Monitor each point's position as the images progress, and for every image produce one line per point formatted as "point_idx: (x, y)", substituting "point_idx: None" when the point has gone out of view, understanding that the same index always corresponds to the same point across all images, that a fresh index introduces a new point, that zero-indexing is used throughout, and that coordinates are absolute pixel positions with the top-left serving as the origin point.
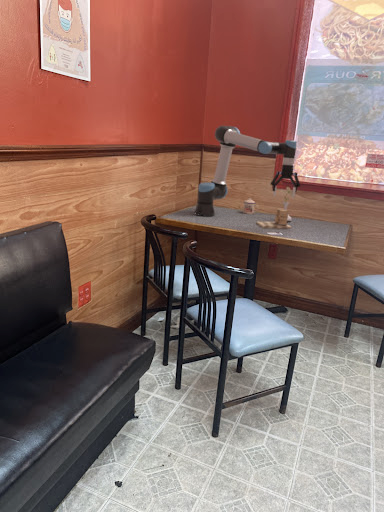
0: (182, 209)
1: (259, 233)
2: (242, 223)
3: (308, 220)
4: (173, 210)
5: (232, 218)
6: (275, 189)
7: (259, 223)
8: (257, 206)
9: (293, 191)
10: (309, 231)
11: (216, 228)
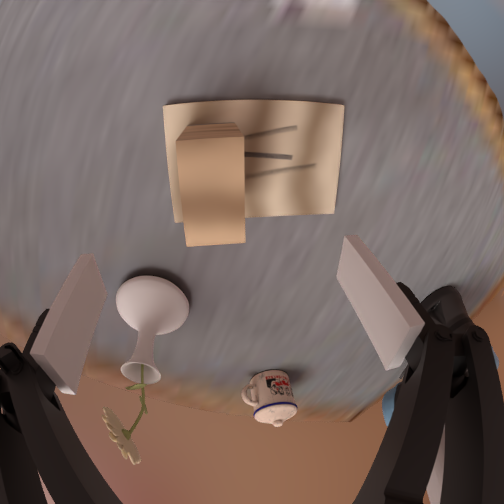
0: None
1: (392, 6)
2: (393, 199)
3: None
4: None
5: None
6: (399, 290)
7: (339, 165)
8: (247, 397)
9: (77, 322)
10: (78, 74)
11: (495, 114)
